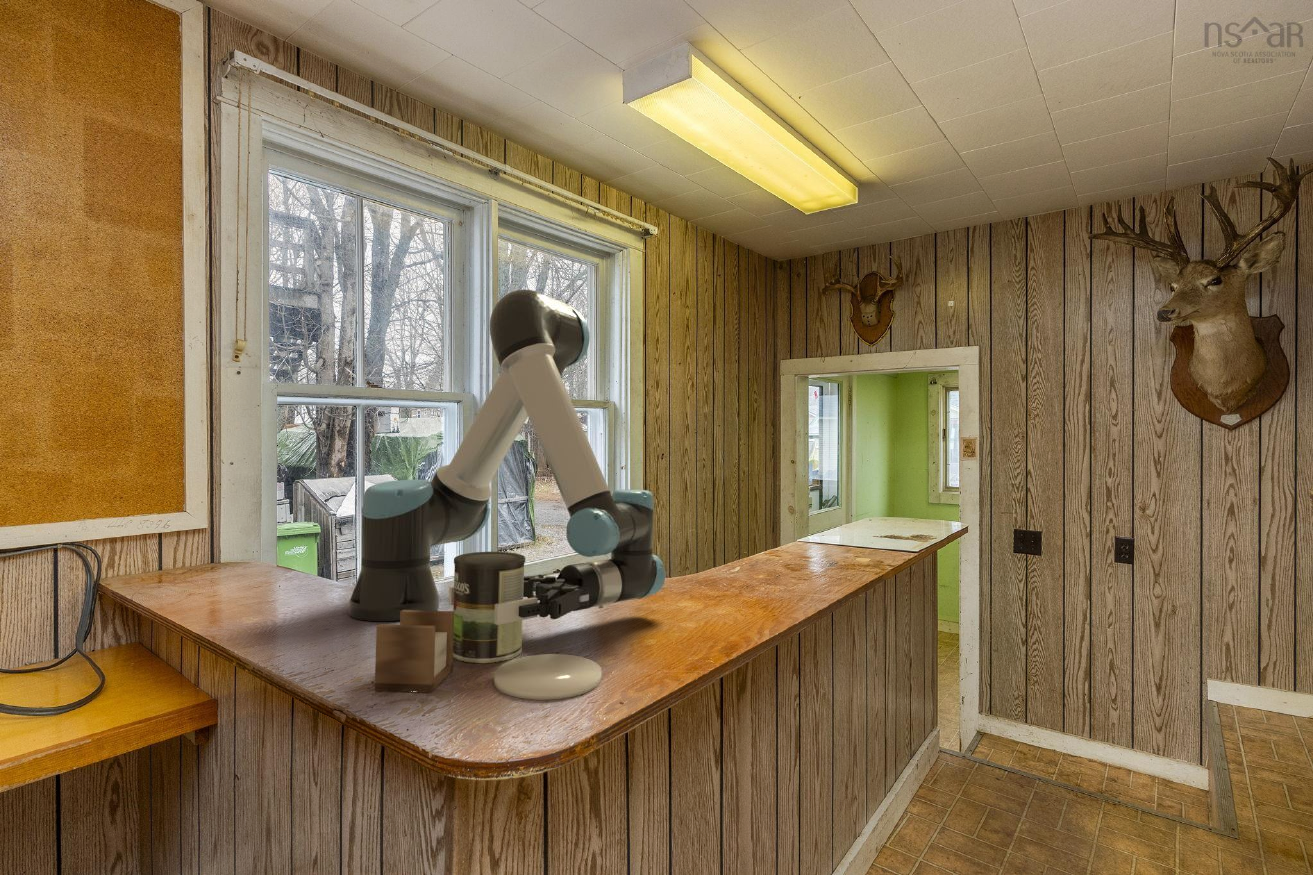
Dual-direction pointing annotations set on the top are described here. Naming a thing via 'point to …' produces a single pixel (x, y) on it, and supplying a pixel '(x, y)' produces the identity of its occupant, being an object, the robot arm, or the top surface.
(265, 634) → the top surface
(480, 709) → the top surface
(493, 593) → the coffee can
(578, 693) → the disc
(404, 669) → the napkin caddy
